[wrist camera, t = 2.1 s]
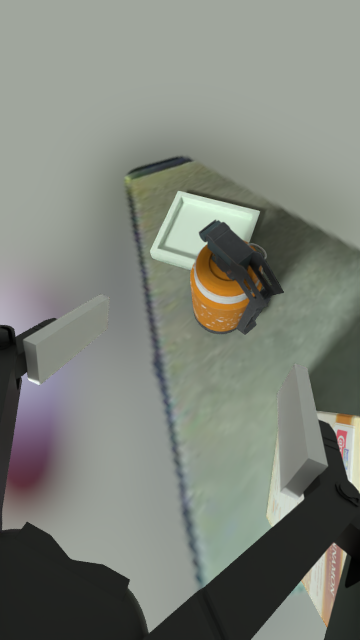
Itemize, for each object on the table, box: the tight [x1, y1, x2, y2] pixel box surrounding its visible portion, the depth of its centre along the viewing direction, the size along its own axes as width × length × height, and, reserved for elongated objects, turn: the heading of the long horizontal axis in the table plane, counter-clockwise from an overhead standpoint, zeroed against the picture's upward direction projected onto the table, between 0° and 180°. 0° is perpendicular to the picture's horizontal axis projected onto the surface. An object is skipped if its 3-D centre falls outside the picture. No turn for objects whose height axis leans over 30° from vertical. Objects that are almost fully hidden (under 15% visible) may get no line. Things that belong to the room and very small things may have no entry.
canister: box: [190, 219, 284, 335], centre depth 34 cm, size 9×11×20 cm
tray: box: [150, 191, 260, 270], centre depth 46 cm, size 16×14×2 cm
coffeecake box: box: [266, 411, 360, 627], centre depth 26 cm, size 15×7×20 cm, turn 166°
